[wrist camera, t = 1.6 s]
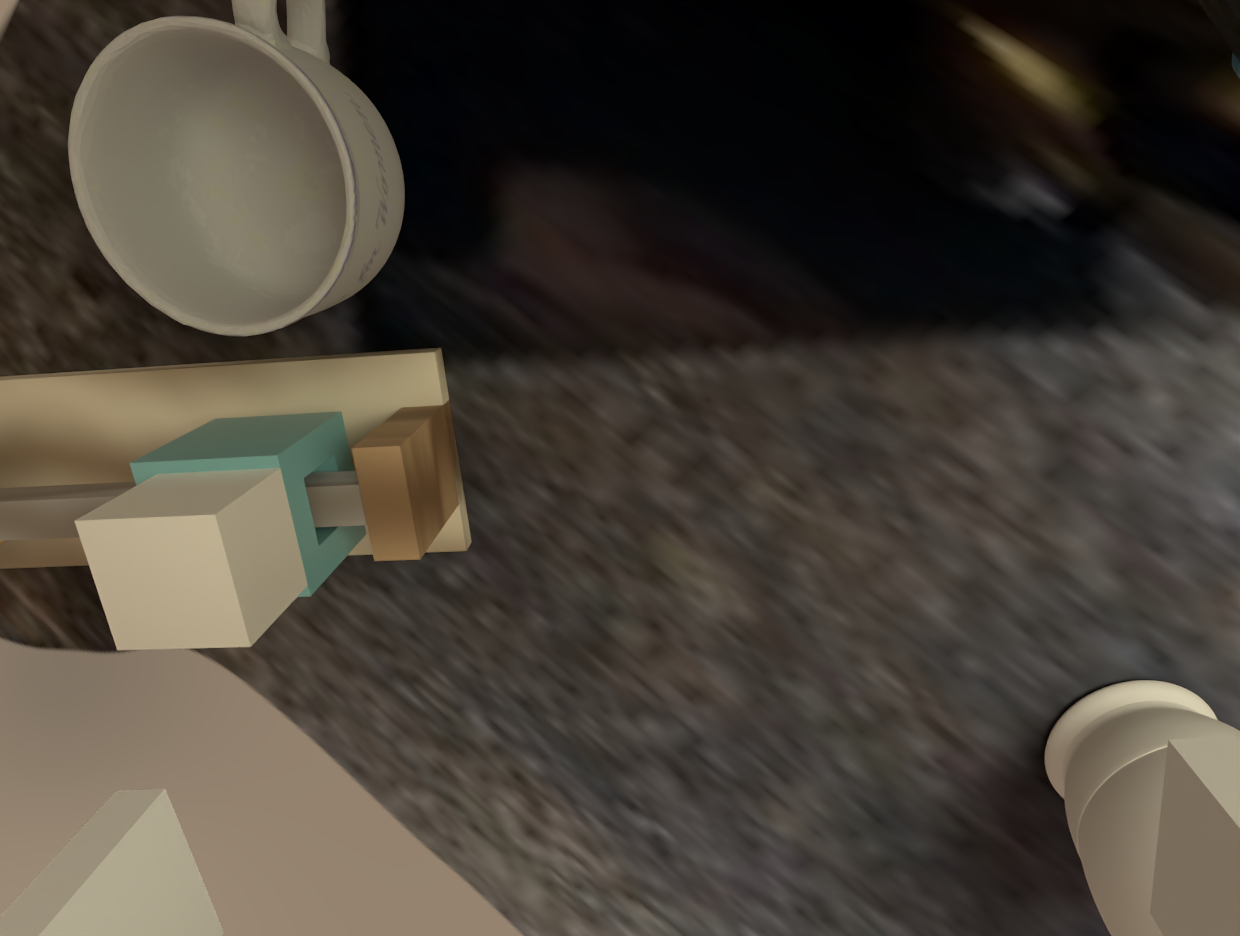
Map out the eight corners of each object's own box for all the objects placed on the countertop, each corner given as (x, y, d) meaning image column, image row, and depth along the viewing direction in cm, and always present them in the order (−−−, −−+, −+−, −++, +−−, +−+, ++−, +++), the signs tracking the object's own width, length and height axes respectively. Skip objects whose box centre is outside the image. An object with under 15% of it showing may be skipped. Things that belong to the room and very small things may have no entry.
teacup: (363, 348, 38) (283, 391, 31) (153, 221, 37) (17, 234, 30) (504, 69, 34) (450, 40, 26) (270, -87, 33) (143, -164, 25)
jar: (1110, 856, 45) (1302, 1170, 31) (978, 750, 43) (1116, 1030, 29) (1282, 739, 41) (1584, 1031, 27) (1145, 620, 40) (1392, 864, 26)
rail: (-99, 383, 41) (-275, 430, 34) (441, 347, 38) (379, 390, 31) (-30, 561, 44) (-176, 641, 37) (471, 542, 41) (422, 624, 34)
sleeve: (215, 418, 37) (42, 508, 27) (341, 411, 36) (211, 500, 27) (245, 538, 39) (95, 663, 29) (366, 534, 38) (254, 658, 29)
